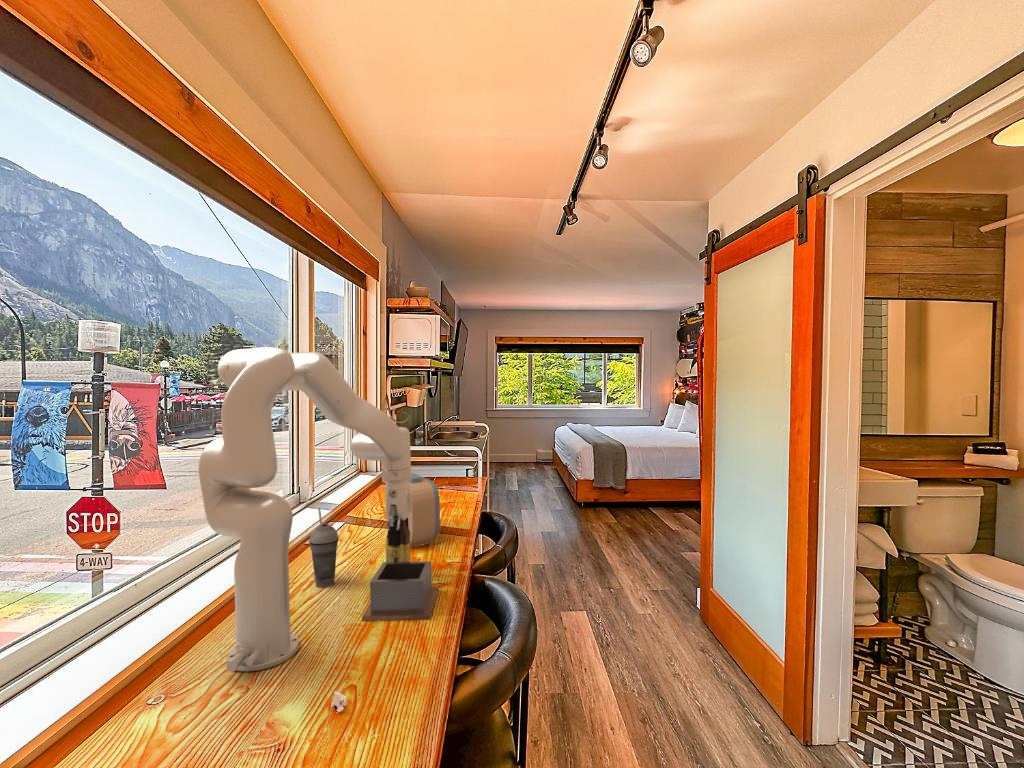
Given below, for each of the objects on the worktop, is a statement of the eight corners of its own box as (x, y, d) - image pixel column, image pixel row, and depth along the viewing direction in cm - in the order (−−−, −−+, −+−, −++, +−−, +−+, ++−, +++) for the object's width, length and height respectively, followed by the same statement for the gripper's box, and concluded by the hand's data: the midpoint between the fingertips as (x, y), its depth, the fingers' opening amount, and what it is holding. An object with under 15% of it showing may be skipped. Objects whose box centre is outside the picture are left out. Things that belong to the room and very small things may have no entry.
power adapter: (328, 711, 82) (328, 692, 82) (342, 702, 84) (341, 684, 84) (341, 718, 80) (340, 698, 80) (354, 709, 82) (353, 690, 82)
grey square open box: (429, 619, 111) (429, 583, 111) (361, 620, 111) (361, 585, 111) (439, 590, 126) (438, 558, 126) (379, 591, 126) (378, 560, 126)
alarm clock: (441, 546, 160) (439, 478, 160) (413, 552, 155) (411, 482, 154) (415, 530, 177) (413, 468, 177) (388, 535, 172) (387, 472, 171)
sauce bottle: (381, 581, 133) (379, 506, 132) (401, 574, 137) (399, 501, 137) (395, 588, 128) (394, 510, 128) (415, 580, 133) (414, 505, 133)
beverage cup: (329, 591, 127) (328, 512, 127) (304, 589, 129) (302, 511, 128) (345, 579, 134) (343, 505, 134) (320, 577, 136) (318, 504, 136)
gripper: (404, 481, 124) (406, 550, 124) (416, 467, 141) (418, 528, 142) (373, 482, 124) (376, 551, 124) (389, 468, 141) (392, 528, 142)
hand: (398, 538), depth 133 cm, fingers open, 9 cm apart
